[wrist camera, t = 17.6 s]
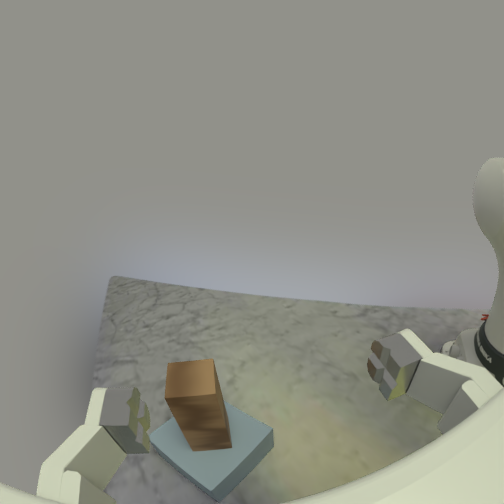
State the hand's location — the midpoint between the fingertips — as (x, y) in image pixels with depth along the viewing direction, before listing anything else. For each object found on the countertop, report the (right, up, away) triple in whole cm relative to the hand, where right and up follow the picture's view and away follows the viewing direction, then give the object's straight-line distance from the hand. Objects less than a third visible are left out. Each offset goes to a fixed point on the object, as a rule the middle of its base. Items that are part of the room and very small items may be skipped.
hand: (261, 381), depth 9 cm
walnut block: (-6, -19, +22) cm, 30 cm away
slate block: (-6, -25, +25) cm, 36 cm away
